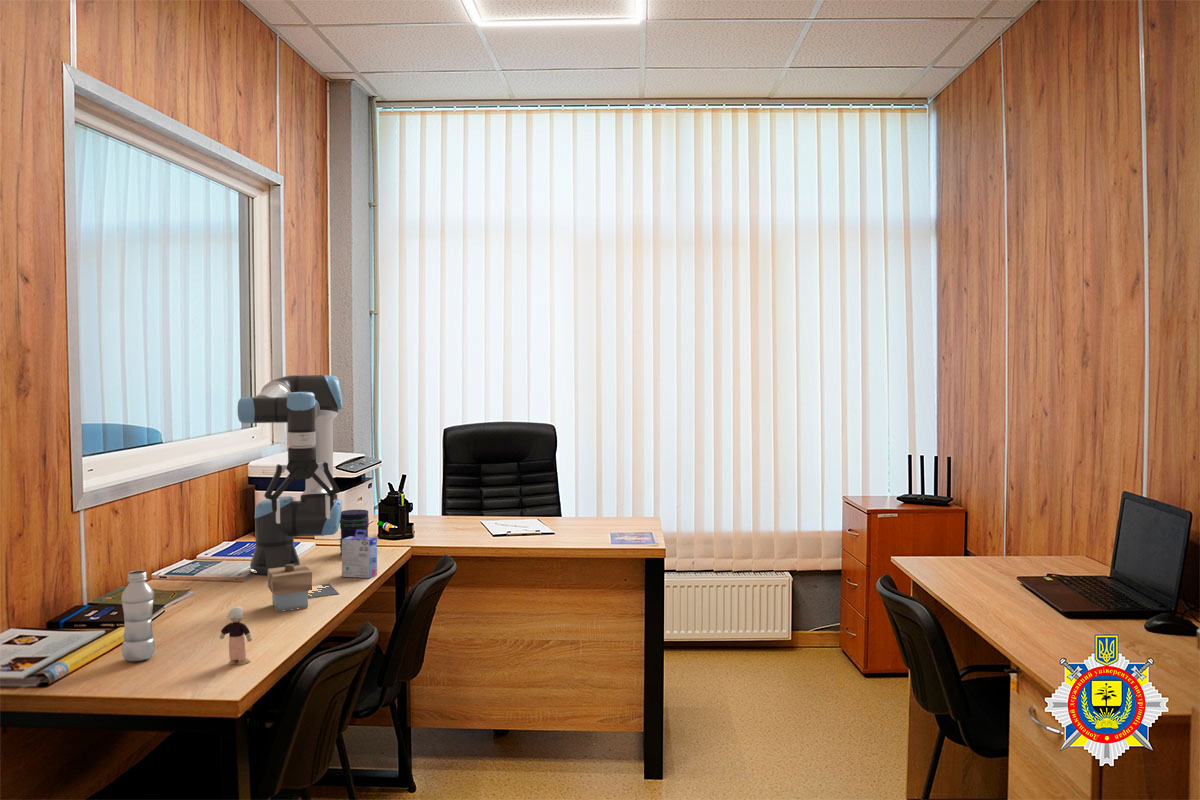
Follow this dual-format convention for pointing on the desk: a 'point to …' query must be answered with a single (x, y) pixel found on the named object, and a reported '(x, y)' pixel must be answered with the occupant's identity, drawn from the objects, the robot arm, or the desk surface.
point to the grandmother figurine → (236, 637)
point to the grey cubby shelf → (290, 600)
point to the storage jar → (353, 523)
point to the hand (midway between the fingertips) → (303, 520)
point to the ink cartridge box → (359, 556)
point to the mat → (324, 591)
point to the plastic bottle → (138, 618)
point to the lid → (289, 579)
